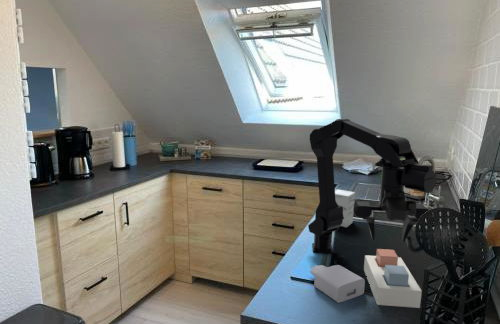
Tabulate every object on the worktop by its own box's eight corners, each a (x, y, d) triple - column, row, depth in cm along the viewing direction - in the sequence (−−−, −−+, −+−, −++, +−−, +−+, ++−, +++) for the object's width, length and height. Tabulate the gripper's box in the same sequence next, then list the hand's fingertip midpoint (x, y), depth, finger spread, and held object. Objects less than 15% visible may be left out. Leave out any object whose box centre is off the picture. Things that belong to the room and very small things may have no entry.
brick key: (375, 263, 108) (376, 248, 107) (392, 264, 107) (393, 249, 106) (379, 271, 103) (380, 255, 102) (396, 272, 103) (397, 256, 102)
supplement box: (328, 224, 148) (330, 192, 145) (335, 218, 154) (337, 188, 151) (346, 228, 144) (348, 195, 141) (353, 222, 150) (355, 191, 147)
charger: (324, 270, 110) (364, 294, 98) (299, 278, 106) (337, 304, 93) (325, 255, 109) (365, 277, 97) (300, 262, 105) (338, 286, 92)
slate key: (383, 281, 98) (384, 264, 97) (401, 282, 98) (403, 266, 97) (387, 290, 94) (389, 273, 93) (407, 291, 93) (408, 274, 92)
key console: (363, 269, 111) (364, 255, 110) (399, 272, 109) (400, 257, 109) (377, 304, 93) (378, 287, 92) (419, 307, 92) (421, 290, 91)
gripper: (361, 191, 94) (357, 250, 97) (440, 194, 92) (434, 254, 95) (354, 181, 105) (351, 234, 108) (425, 183, 103) (420, 238, 106)
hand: (388, 240), depth 104 cm, fingers open, 8 cm apart
